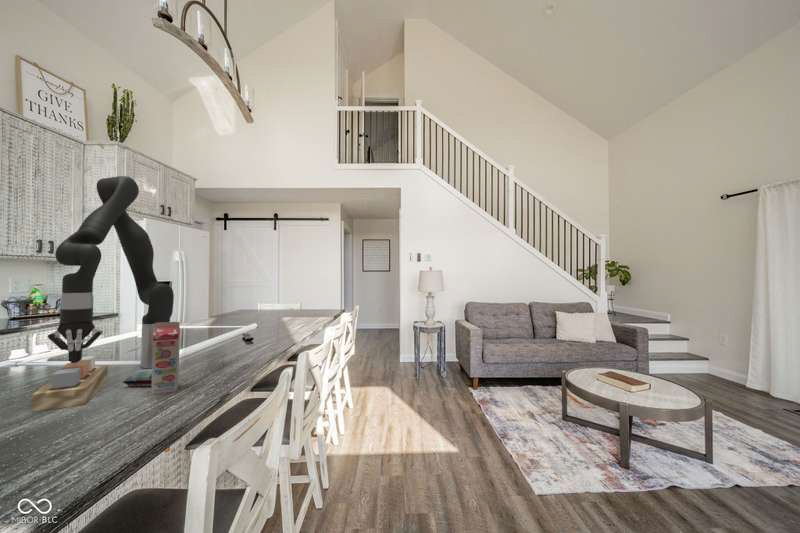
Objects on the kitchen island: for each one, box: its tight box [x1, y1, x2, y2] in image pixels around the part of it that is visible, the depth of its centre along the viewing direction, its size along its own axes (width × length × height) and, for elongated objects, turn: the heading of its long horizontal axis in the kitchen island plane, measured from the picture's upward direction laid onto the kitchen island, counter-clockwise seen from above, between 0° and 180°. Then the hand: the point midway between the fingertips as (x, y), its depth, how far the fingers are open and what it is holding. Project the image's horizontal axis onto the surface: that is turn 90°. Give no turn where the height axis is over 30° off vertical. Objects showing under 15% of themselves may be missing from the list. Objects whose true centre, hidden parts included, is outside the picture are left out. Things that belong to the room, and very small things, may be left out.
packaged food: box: [121, 368, 152, 387], centre depth 116 cm, size 9×12×5 cm
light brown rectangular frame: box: [31, 365, 109, 413], centre depth 106 cm, size 11×26×5 cm, turn 30°
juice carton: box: [151, 321, 181, 395], centre depth 111 cm, size 7×7×22 cm
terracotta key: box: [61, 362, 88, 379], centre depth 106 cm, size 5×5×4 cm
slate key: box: [51, 368, 81, 389], centre depth 99 cm, size 5×5×4 cm
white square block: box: [79, 355, 96, 372], centre depth 113 cm, size 5×5×4 cm
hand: (75, 362), depth 106 cm, fingers closed
